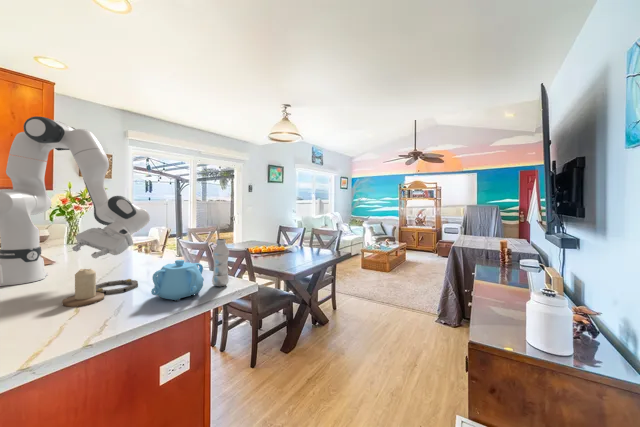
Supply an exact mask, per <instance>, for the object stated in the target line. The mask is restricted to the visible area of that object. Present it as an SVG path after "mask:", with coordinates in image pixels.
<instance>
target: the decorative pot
mask: <svg viewBox="0 0 640 427" xmlns="http://www.w3.org/2000/svg"><path fill="white" fill-rule="evenodd" d="M174 262H175V263H167V264H165V265H163V266H162V267H161V268H160V269H159V270H156V271H155V272H154V273H153V275H152V282H153V285H154V287H153V288H152V289H151V292H150V293H151V295H152V296H158V297H160V298H162V299H165V300H171V301H172V300H178V301H180V300H181V299H183V298H187V297H192V296H191V295H194V294H196V295H197V294H198V293H199V292H200V291H201V290H202V288H203V286H204V277H203V270H204V267H203V264H201V263H199V262H195V263H193V262H188V261H187V262H186V261H185V260H184V259H175V260H174ZM194 296H195V295H194ZM179 299H180V300H179Z"/></svg>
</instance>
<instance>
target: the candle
mask: <svg viewBox="0 0 640 427" xmlns="http://www.w3.org/2000/svg"><path fill="white" fill-rule="evenodd" d="M96 273H97V272H96V271H95V270H94V269H92V268H88V269H86V268H84V269H82V268H81V269H79V270H78V271H77V272H76V273H75V274H74V295H75V299H77V300H83V299H89V298H92V297H95V296H96V285H97V284H96V283H97V274H96Z"/></svg>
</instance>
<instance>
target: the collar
mask: <svg viewBox="0 0 640 427" xmlns="http://www.w3.org/2000/svg"><path fill="white" fill-rule="evenodd" d="M116 285H127V286H124V287H119V288H114V289H113V288H111V289H104V288H105V287H108V286H116ZM136 288H139V282H138V280H135V279H134V280H133V279H132V278H128V279H119V280H110V281H106V282H102V283H98V284H96V292H99V293H104V296H105V295H107V296H108V295H114V294H119V293H126V292H128V291H131V290H134V289H136Z"/></svg>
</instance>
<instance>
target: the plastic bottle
mask: <svg viewBox="0 0 640 427" xmlns="http://www.w3.org/2000/svg"><path fill="white" fill-rule="evenodd" d="M215 242H216V243H215V244H216V246H215V247H214V249H213V251H212V257H213V273H212V279H211V282H212V285H213V286H214V287H225V286H227V285H228V283H229V279H230V278H229V269H228V266H229V265H228V264H229V263H228V260H229V256H230V249H229V248H228V246H227V245H226V244H227V241H226V239H225V238H217V239H216V240H215Z"/></svg>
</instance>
